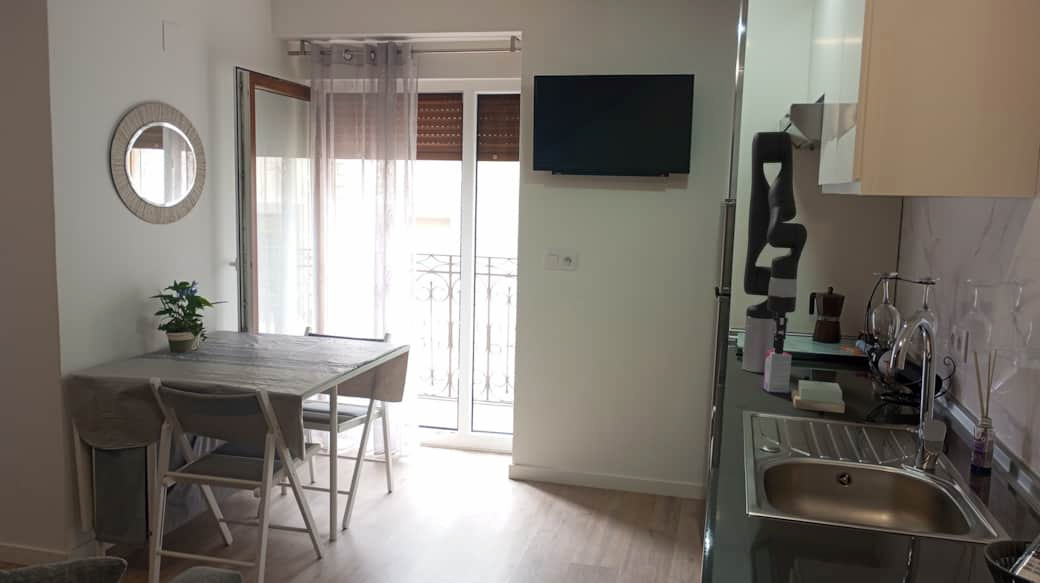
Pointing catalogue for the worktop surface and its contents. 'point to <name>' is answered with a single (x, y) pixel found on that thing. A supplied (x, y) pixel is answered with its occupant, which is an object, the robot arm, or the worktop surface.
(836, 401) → the sage slab
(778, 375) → the supplement box
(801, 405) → the birch slab
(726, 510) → the worktop surface
